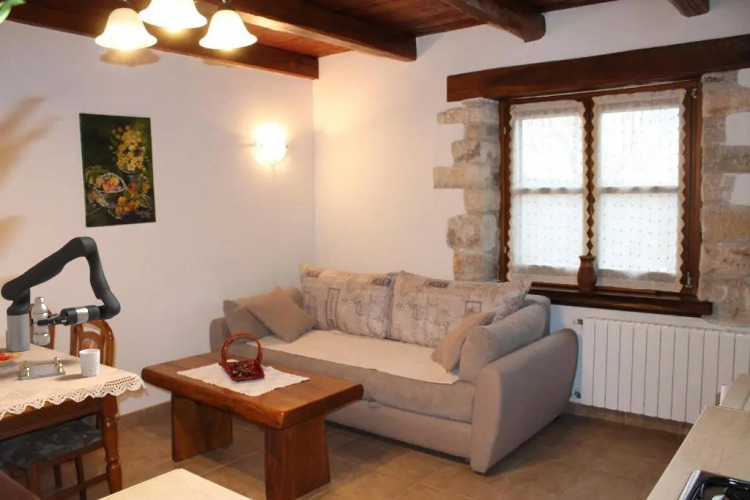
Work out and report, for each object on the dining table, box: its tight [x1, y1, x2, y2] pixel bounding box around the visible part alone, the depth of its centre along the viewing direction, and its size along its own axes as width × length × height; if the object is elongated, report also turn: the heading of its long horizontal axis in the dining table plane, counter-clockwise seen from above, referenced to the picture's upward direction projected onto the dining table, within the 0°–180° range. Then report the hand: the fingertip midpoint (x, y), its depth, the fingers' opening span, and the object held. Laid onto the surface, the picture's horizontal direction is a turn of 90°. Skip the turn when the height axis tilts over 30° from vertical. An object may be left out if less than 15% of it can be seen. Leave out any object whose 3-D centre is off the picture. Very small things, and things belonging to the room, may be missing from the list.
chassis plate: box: [19, 356, 66, 381], centre depth 275 cm, size 16×16×4 cm
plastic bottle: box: [31, 296, 51, 346], centre depth 273 cm, size 6×7×20 cm
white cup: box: [78, 348, 101, 378], centre depth 272 cm, size 8×8×10 cm
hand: (34, 322), depth 271 cm, fingers closed on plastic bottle, 5 cm apart
